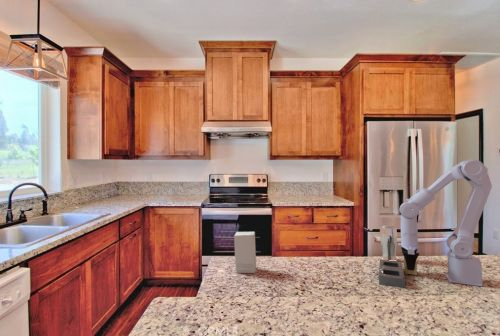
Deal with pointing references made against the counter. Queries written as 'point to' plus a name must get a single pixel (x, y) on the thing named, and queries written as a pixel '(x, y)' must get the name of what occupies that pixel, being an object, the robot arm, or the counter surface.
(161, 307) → the counter surface
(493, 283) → the counter surface
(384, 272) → the grey piece
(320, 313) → the counter surface
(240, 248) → the skincare box
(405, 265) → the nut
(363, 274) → the counter surface
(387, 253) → the beer glass
